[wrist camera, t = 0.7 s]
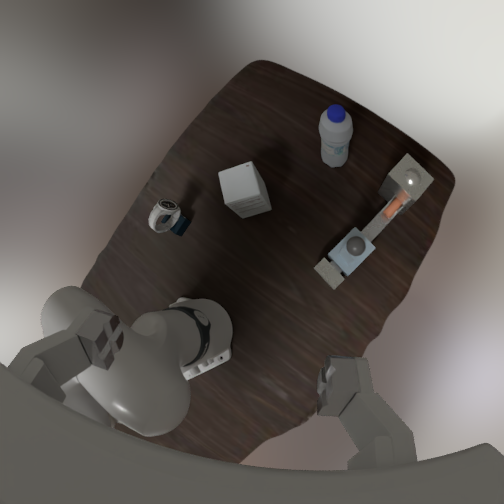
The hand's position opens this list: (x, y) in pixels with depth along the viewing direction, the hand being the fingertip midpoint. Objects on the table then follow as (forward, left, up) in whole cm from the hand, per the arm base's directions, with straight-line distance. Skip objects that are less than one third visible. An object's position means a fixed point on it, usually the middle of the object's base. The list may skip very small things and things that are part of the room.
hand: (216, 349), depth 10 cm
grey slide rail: (+21, +1, -51) cm, 55 cm away
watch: (-10, +34, -51) cm, 62 cm away
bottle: (+28, +18, -51) cm, 61 cm away
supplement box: (+7, +24, -51) cm, 57 cm away
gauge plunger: (+28, 0, -48) cm, 56 cm away
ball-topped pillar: (+14, 0, -50) cm, 52 cm away
